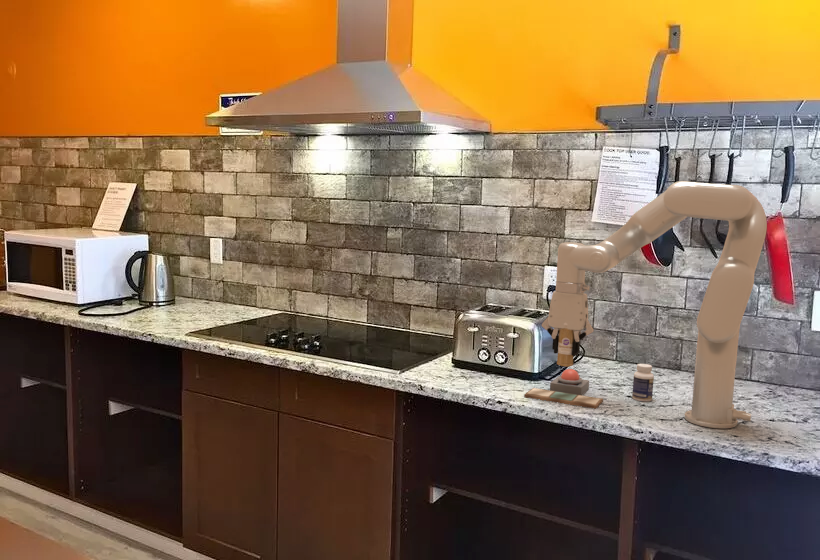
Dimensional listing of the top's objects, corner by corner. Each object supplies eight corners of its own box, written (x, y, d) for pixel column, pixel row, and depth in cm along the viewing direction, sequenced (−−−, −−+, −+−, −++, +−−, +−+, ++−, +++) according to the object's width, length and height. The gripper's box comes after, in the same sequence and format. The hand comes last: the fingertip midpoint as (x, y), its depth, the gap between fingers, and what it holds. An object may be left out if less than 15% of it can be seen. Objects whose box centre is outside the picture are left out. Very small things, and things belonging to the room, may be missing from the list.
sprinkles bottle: (558, 366, 205) (561, 318, 203) (555, 362, 210) (558, 315, 208) (575, 367, 205) (578, 318, 203) (571, 363, 210) (574, 315, 208)
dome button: (584, 387, 219) (585, 368, 219) (578, 392, 213) (579, 373, 213) (561, 383, 223) (562, 365, 222) (554, 388, 217) (555, 369, 216)
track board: (602, 401, 208) (603, 398, 208) (596, 408, 201) (596, 405, 201) (533, 390, 217) (533, 387, 217) (524, 397, 210) (524, 393, 210)
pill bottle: (651, 403, 208) (653, 368, 207) (630, 400, 210) (633, 366, 209) (653, 398, 213) (655, 364, 212) (633, 395, 215) (635, 362, 214)
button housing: (588, 389, 220) (589, 380, 220) (580, 396, 212) (581, 387, 212) (558, 384, 224) (559, 375, 224) (549, 391, 216) (550, 382, 216)
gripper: (604, 289, 204) (599, 355, 207) (543, 283, 212) (539, 347, 214) (597, 292, 198) (592, 360, 200) (535, 286, 205) (531, 352, 208)
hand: (565, 353), depth 207 cm, fingers closed on sprinkles bottle, 4 cm apart
